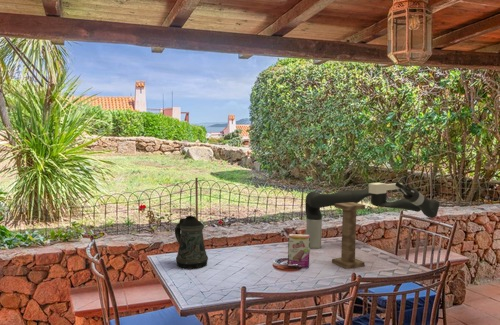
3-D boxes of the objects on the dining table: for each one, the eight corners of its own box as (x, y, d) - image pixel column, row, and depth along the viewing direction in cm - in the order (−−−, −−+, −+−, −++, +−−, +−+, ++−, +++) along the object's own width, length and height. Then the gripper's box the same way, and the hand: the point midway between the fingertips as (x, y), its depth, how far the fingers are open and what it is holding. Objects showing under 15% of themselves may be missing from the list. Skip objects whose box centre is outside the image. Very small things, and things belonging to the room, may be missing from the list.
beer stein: (202, 270, 222) (202, 221, 220) (165, 267, 226) (165, 219, 224) (211, 261, 238) (212, 214, 236) (177, 258, 242) (177, 213, 240)
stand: (346, 268, 227) (347, 206, 225) (331, 262, 238) (333, 203, 236) (364, 266, 233) (366, 205, 230) (349, 259, 243) (351, 201, 241)
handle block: (376, 194, 237) (376, 184, 236) (368, 192, 242) (368, 183, 242) (404, 190, 245) (404, 181, 245) (396, 189, 251) (396, 180, 250)
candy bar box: (287, 267, 229) (288, 235, 228) (287, 264, 234) (288, 233, 233) (309, 268, 228) (310, 236, 227) (309, 265, 233) (309, 234, 232)
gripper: (421, 204, 246) (400, 190, 239) (402, 200, 259) (382, 187, 251) (426, 192, 247) (406, 178, 240) (407, 189, 260) (387, 175, 252)
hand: (394, 183), depth 246 cm, fingers closed on handle block, 2 cm apart
